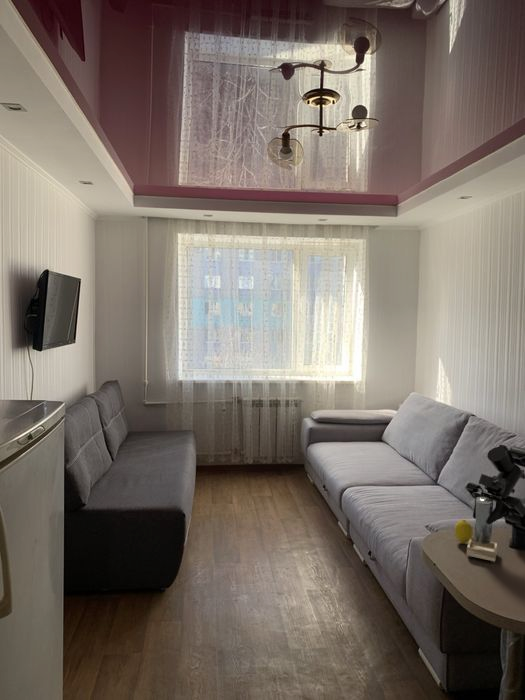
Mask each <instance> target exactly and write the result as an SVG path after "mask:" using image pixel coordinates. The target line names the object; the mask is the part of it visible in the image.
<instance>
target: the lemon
mask: <svg viewBox="0 0 525 700" xmlns="http://www.w3.org/2000/svg"><path fill="white" fill-rule="evenodd" d="M473 533H474V532H473V526H472V525H471V523H470V522H469V521H467V520H465V519H462V520H459V521H457V522H456V524H455V526H454V535H455V536H454V537H455V538H456V540H458V541H459V542H460V543H461V544H462V545H463V544H465V543H469V539H470V538H473Z"/></svg>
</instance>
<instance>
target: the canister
mask: <svg viewBox="0 0 525 700" xmlns="http://www.w3.org/2000/svg"><path fill="white" fill-rule="evenodd" d="M493 510H494V501H493V500H492V499H490V498H487V497H477V498H476V518H474V519H475V521H474V523H475V525H474V539H475V541H477V542H479V543H483V544H489V543H491V542H492V534H493V532H492V531H493V523H491V524H487V520H488V518H489V516H490V515H491V513H492V512H493Z"/></svg>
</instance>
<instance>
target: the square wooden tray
mask: <svg viewBox="0 0 525 700" xmlns="http://www.w3.org/2000/svg"><path fill="white" fill-rule="evenodd" d="M467 543H468V544H467V547H466V556H467V558H468V559H471V558H477V559H482V560H486V561H490V563H491V564H495V562H496V558H497V554H498V553H497V552H498V542H493V541H491V543H489V544H483V543H479V542H477V541H475V537H474V538H473V537H472V538H470V539H469V542H467Z"/></svg>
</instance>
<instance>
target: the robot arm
mask: <svg viewBox="0 0 525 700" xmlns="http://www.w3.org/2000/svg"><path fill="white" fill-rule="evenodd" d="M487 459H488V460H489V462H490V463H491V464H492V465H493V468H494V469H495V470H496V471H497V472H498V474H497V475H493V476H491V475H486V474H484V473H481V474H480V477H479V480H478V484H477V483H474V482H468V483H467V484H466V486H465V487H464V489H465V490H466V491H467V493H468V494H469V495H470V496H471V498H473V499H474V506H473V507H474V508H473V513H472V518H473V519H475V518H476V498H477V497H487V498H490V499H492V500H493V502H495V507H493V512H492V513H491V515H490V516H489V518H488V520H487V524H491V523H492V524H493V523H495V522H497V521H498V520H500V519H503V518H504V523H505V524H506V525H508V526H511V529H510V531H511V533H510V538H509V543H508V546H509V548H515V549H519V550H525V497H523V498H521V497H519V496H511V494H515V492H516V490H515V487H516V485H517V483H518V482H519V480H520V479H523V480H525V470H524V469H521V468H520V467H523V468H525V448H523V447H519V446H511V447H510V449H509V448H508V446H507V445H505V444H499V445H498V446H497V447H495V446H494V447H493V448H492V449H490V450H488V453H487ZM481 485H483V486H484V487H482V486H481ZM483 488H484V489H483ZM485 490H487V491H485Z"/></svg>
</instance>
